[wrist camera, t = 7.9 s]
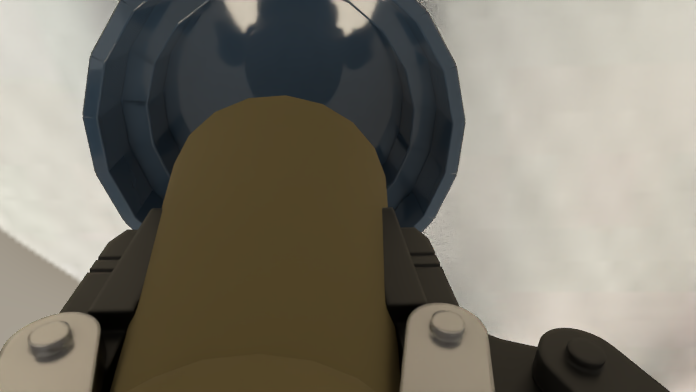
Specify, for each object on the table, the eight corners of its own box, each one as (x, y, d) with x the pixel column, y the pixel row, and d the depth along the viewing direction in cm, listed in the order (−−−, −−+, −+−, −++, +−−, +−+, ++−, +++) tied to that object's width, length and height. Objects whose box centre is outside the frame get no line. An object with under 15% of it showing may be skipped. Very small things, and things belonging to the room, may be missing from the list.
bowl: (110, -67, 18) (37, -78, 13) (446, -50, 19) (495, -53, 14) (159, 229, 24) (122, 297, 19) (412, 227, 25) (438, 291, 20)
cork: (177, 283, 14) (-120, 1035, 4) (162, 85, 11) (-776, 889, 1) (372, 289, 15) (511, 938, 5) (402, 104, 12) (832, 721, 2)
